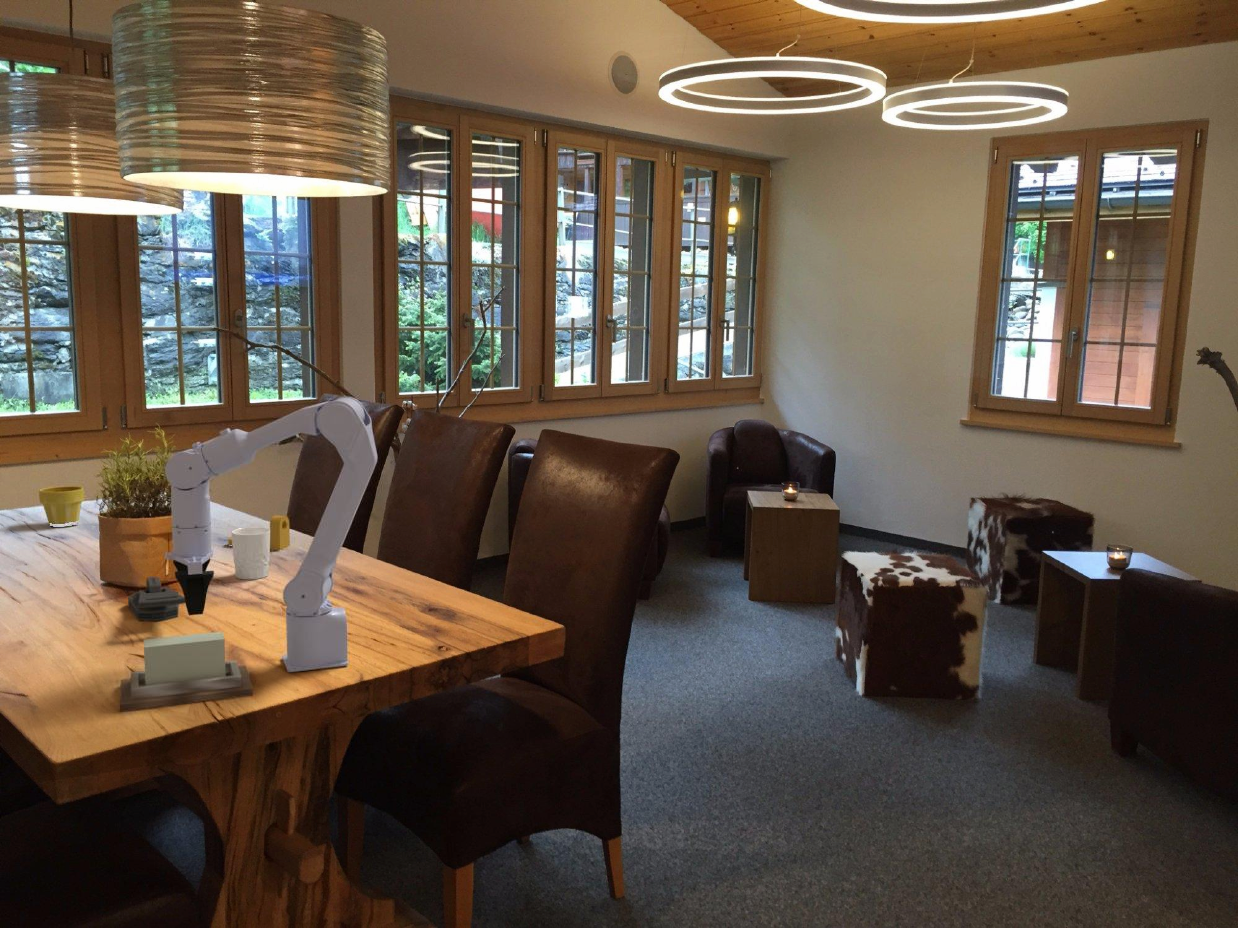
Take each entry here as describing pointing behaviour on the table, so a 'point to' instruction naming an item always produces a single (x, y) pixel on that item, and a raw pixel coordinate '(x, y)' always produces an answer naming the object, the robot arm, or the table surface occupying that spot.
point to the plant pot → (62, 503)
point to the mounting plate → (184, 689)
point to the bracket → (277, 533)
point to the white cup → (251, 552)
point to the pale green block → (184, 658)
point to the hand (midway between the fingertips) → (194, 607)
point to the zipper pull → (155, 602)
